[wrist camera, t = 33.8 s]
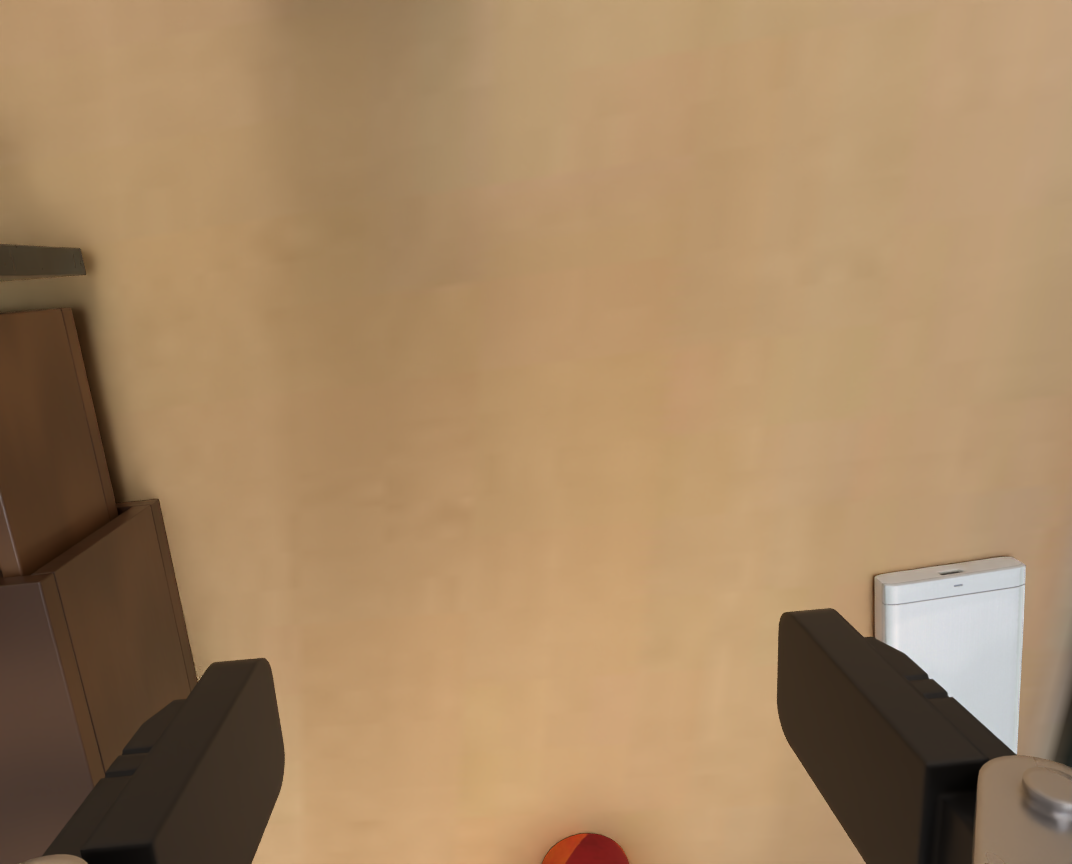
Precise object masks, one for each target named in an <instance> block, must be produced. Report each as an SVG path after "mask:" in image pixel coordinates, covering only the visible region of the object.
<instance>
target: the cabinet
mask: <svg viewBox="0 0 1072 864" xmlns="http://www.w3.org/2000/svg"><path fill="white" fill-rule="evenodd" d="M116 507H117V511H118V517H116V518H115V519H113V520H112V521H110V522H109V523H107V524H106V525H104V526H103V527H101V528H100V529H98V530H97V531H95V532H94V533H92V534H91V535H89V536H88V537H86V538H85V539H83V540H82V541H80V542H79V543H77V544H76V545H74V546H73V547H71V548H70V549H68V550H67V551H65V552H64V553H62V554H61V555H59V556H58V557H56V558H55V559H53V560H52V561H50V562H49V563H47V564H46V565H44V566H43V567H41V568H40V569H38V570H37V571H35V572H34V573H32V574H31V575H26V576H15V577H5V578H0V864H19V863H22V862H25V861H28V860H31V859H34V858H38V857H42V855H43V854H44V853H45V851H46V850H47V849H48V847H49V846H50V845H51V843H52V842H53V841H54V839H55V838H56V837H57V836H58V834H59V833H60V832H61V830H62V829H63V828H64V826H65V825H66V824H67V822H68V821H69V820H70V818H71V817H72V816H73V814H74V813H75V812H76V811H77V809H78V808H79V807H80V805H81V804H82V803H83V801H84V800H85V799H86V797H87V796H88V795H89V793H90V792H91V791H92V790H93V788H94V787H95V786H96V784H97V783H98V782H99V780H100V779H101V778H105V772H106V771H107V770H108V768H109V767H110V766H111V765H112V763H113V762H114V761H115V759H116V758H117V757H118V756H119V755H122V752H123V751H122V750H123V749H124V747H125V746H126V745H127V743H128V742H129V741H130V740H131V738H132V737H133V736H134V734H135V733H136V732H137V730H138V729H139V728H140V726H141V725H142V724H143V723H144V722H145V721H147V720H148V719H149V718H151V717H152V716H153V715H155V714H156V713H157V712H159V711H160V710H161V709H163V708H164V707H165V706H167V705H168V704H169V703H171V702H172V701H173V700H180V699H186V698H187V697H188V696H189V694H190V693H191V691H192V690H193V688H194V687H195V686H196V684H197V679H196V674H195V669H194V665H193V660H192V655H191V650H190V646H189V641H188V636H187V632H186V627H185V622H184V617H183V613H182V608H181V603H180V599H179V594H178V589H177V585H176V580H175V575H174V570H173V566H172V561H171V556H170V552H169V547H168V542H167V537H166V533H165V528H164V523H163V519H162V514H161V509H160V504H159V500H158V499H155V500H144V501H133V502H122V503H116Z"/></svg>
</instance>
